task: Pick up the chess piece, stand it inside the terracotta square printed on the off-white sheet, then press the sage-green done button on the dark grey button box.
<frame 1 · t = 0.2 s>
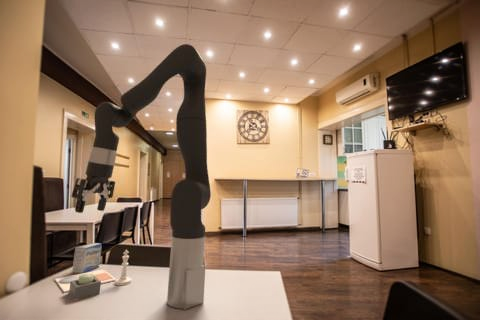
hand: (90, 211, 75), 22 cm above the table, tool pointing down, fingers open, 8 cm apart
sheet: (85, 280, 75), on the table
button box: (84, 293, 66), on the table
medicine box: (86, 270, 85), on the table
chess piece: (123, 283, 74), on the table
done button: (85, 280, 66), point 3 cm above the table, slide at 0.0 cm
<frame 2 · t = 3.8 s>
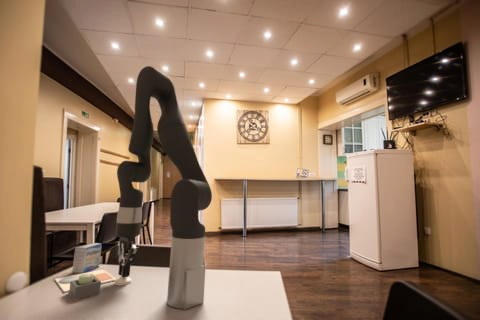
hand: (123, 275, 75), 2 cm above the table, tool pointing down, fingers closed on chess piece
chess piece: (123, 283, 74), on the table, touching gripper
everything else where it was.
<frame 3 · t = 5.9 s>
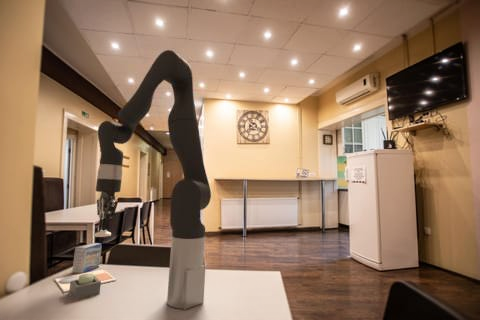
hand: (103, 229, 78), 16 cm above the table, tool pointing down, fingers closed on chess piece
chess piece: (102, 236, 78), point 14 cm above the table, touching gripper
everything else where it was.
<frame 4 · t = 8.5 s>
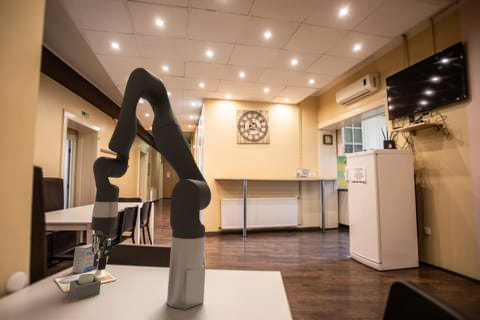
hand: (99, 267, 77), 4 cm above the table, tool pointing down, fingers open, 4 cm apart
chess piece: (97, 278, 76), resting on sheet
everything else where it was.
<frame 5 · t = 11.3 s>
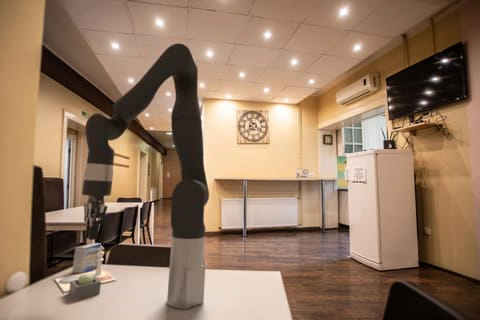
hand: (91, 238, 68), 15 cm above the table, tool pointing down, fingers closed
nothing on the table moved.
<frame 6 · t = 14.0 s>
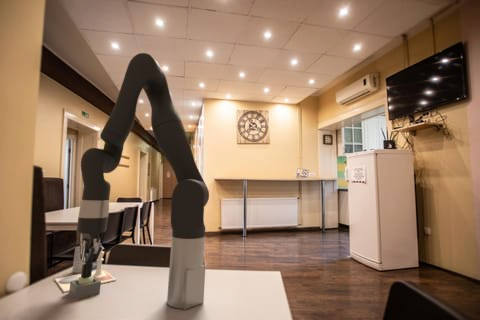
hand: (85, 277, 66), 4 cm above the table, tool pointing down, fingers closed
done button: (85, 281, 66), point 3 cm above the table, slide at 0.4 cm, touching gripper
everything else where it was.
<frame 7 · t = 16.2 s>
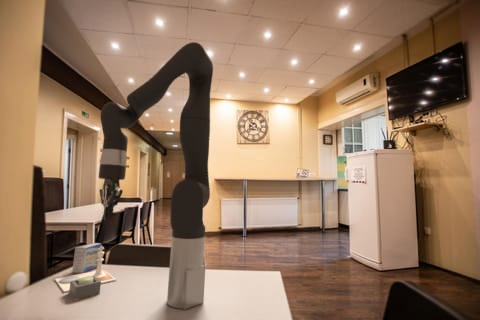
hand: (107, 219, 73), 20 cm above the table, tool pointing down, fingers closed
done button: (85, 283, 66), point 3 cm above the table, slide at 0.9 cm
everything else where it was.
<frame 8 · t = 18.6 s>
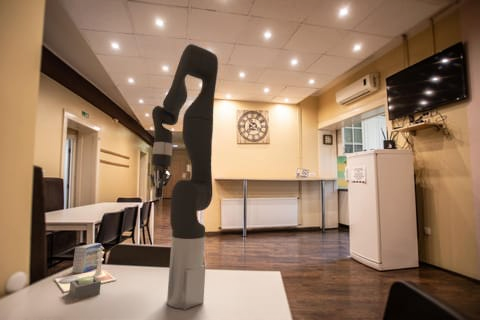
hand: (158, 197, 92), 27 cm above the table, tool pointing down, fingers closed
nothing on the table moved.
at the end: chess piece inside the target area (0.2 cm from its centre), resting on sheet; chess piece tilted 0°; done button slide at 0.9 cm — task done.
